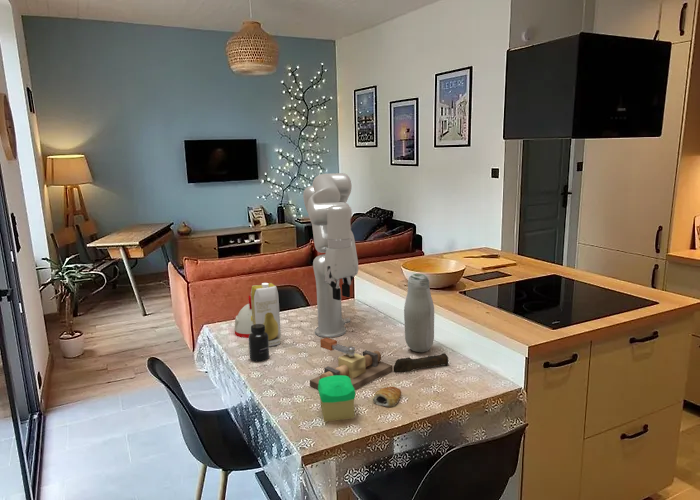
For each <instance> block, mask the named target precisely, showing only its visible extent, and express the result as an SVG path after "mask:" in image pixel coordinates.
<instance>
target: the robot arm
mask: <svg viewBox="0 0 700 500" xmlns="http://www.w3.org/2000/svg"><path fill="white" fill-rule="evenodd" d="M351 192H352V180H351V178H350V176H349V175H348V174H346V173H344V172H338V173H336V172H334V173H322V174H318V175H317V176H315V177H314V179H313V181H312V185H310V186H308V187H305V188H304V190H303V194H302V195H303V198H302V199H303V203H304V207H305V210H306V212H307V215H308V218H309V220H310V223H311V226H312V234H313V244H314V248H315V250H316V251H317V253H321V254H320V255H317V256H316V257H315V258H314V259H313V262H312V267H313V273H314V274H313V275H314V277H315V278H314V279H315V287H316V289H315V290H316V309H317V327H315V328H314V334H315V336H318V337H320V338H321V337H322V338H326V337H327V338H337V337H341V336H343V335H345V334H346V333H347V328H346V327H345V325H346V324H348V323H349V324H350V322H351V318H350V317H347V318H346V317H345V318H343V314H342V313H343V310H342V309H343V308H342V297H345V298H350V297H351V289H350V288H351V286H352V281H353V279H354V277H355V276H357V275H358V274H359V273H358V272H359V259H358V254H357V247H356V240H355V235H354V233H353V231H352V227H351V226H352V225H351V220H352V217H353V216H352V215H353V213H352V212H353V211H352V207H351V206H350V205H349V203H347V202H348V200H349V197H350V195H351ZM341 279H342V283H341V287H340V280H341Z"/></svg>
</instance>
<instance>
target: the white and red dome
mask: <svg viewBox="0 0 700 500" xmlns="http://www.w3.org/2000/svg"><path fill="white" fill-rule="evenodd" d="M252 325H253V320H252V306H251V295H248V303H247V304H245V305H244V306H243V307H242V308H241V309H240V310H239V312H238V314H237V315H235V319H234V335H235V336H236V337H238V338H242V337H243V338H242V339H244V338H245V339H249V335H250V334H251V333H252V332H251V326H252Z"/></svg>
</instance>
